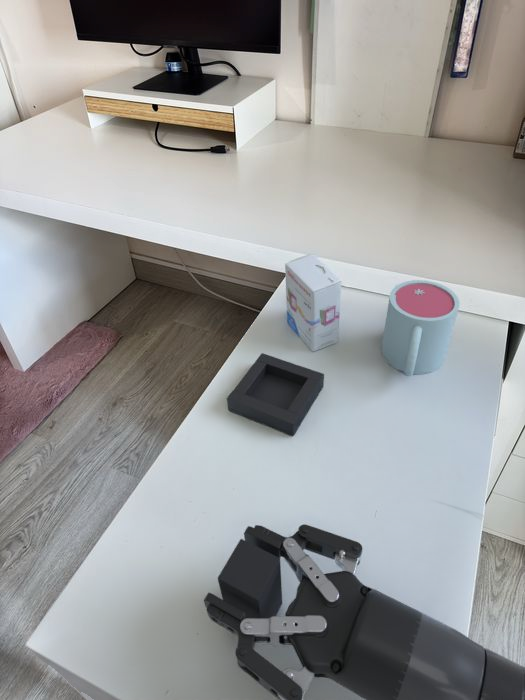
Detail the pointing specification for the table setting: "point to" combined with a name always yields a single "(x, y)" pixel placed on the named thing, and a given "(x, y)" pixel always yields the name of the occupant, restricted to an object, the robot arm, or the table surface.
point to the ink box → (313, 301)
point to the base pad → (276, 393)
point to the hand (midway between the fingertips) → (227, 565)
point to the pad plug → (252, 581)
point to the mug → (419, 326)
